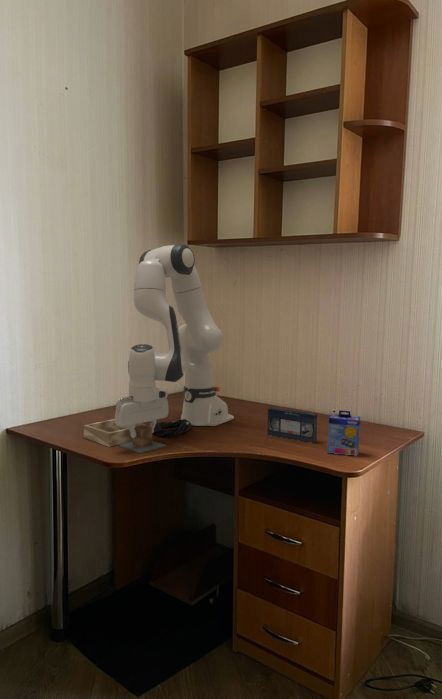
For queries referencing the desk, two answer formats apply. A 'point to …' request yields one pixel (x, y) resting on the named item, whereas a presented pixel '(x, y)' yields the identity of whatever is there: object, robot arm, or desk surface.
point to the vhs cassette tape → (292, 424)
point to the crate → (108, 433)
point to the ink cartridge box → (343, 434)
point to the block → (143, 436)
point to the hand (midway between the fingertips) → (142, 435)
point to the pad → (144, 449)
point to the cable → (180, 427)
